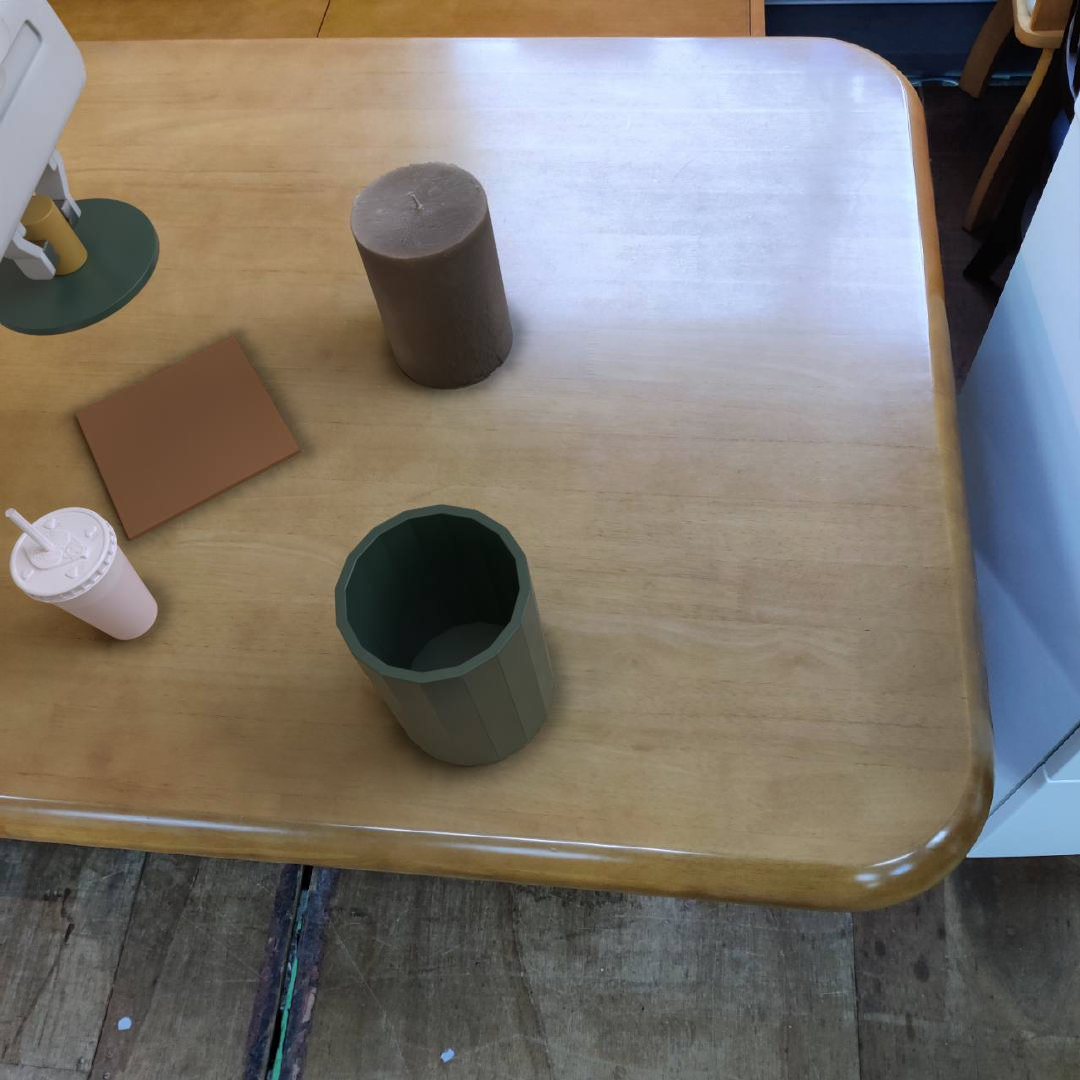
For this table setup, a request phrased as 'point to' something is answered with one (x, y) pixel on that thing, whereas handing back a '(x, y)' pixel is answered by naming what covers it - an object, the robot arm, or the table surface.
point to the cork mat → (185, 436)
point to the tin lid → (79, 266)
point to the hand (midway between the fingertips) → (57, 247)
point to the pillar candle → (434, 272)
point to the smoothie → (81, 571)
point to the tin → (449, 632)
